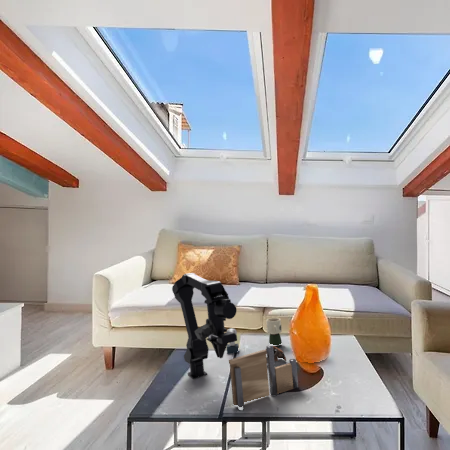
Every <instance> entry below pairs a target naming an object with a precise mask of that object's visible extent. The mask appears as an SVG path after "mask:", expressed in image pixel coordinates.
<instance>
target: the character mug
mask: <svg viewBox="0 0 450 450" xmlns="http://www.w3.org/2000/svg"><path fill="white" fill-rule="evenodd" d="M281 321H282V319H281V318H280V317H270V318H269V317H268V318H267V319H266V323H265V324H266V333H267V334H269V336H268V337H269V339H268V344H269V343H270V344H273V345H279V344H281V343H282V344H283V342H282V338H281V337H282V336H281V333H282V332H283V331H282V329H283V327H282V322H281Z"/></svg>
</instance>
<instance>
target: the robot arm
mask: <svg viewBox="0 0 450 450" xmlns="http://www.w3.org/2000/svg"><path fill="white" fill-rule="evenodd" d="M194 289H196V290H198V291H200V292H201V295H202V296H203V297H204V298H205V300H204V302H203V303H204V304H206V308H207V318H206V319H205V323H204V324H203V325H201V326H200V327H199V325H198V321H197V318H196V313H195V308H194V305H193V301H192V299H193V296H194V294H195V292H194ZM171 291H172V293H173V296H174V298H175V299H176V301H177V302H178V303H179V304H180V307H181V312H182V316H183V320H184V323H185V324H184V325H185V327H186V332H187V337H188V338H187V342H186V352H185V353H184V355H183V358H184V359H183V360H184V362H186V363H188V364H189V371H188V372H187V375H188V376H189V377H190V378H192V379H198V378H200V377H204V376H207V375H208V373H207V371H205V366H204V365H205V364H204V360H206V359H208V357H209V346H208V342H210V344H211V345H212V347H213V349H214V350H213V351H214V352H215V354H216V357H217V358H219V359H222V358H224V354H225V352H226V350H227V344H229V343H230V342H234V341H235V342H237V341H238V335H236V334H235V333H232V332H227V330H228V329H227V328H225V321H227V320H232V319H233V318H234V317H236V314H237V307H236V305H235V303H233V302H232V301H231V300H232V299H230V298H229V293H228V292H227V291H226V289H225V287H224V285H223V283H222V282H221V281H218V280H208V279H205V278H203V277H201V276H199V275H197V274H196V273H194V272H189V273H184V274H183V275H181V277H180V278H178V279H177V280H176V281H175V282H174V284H173V285H172V287H171Z"/></svg>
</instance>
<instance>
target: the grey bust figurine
mask: <svg viewBox="0 0 450 450" xmlns="http://www.w3.org/2000/svg"><path fill="white" fill-rule="evenodd" d="M227 332H232V333H235V334H236V335H237V334H238V331H237V330H236V328H228V329H227ZM237 336H238V335H237ZM238 348H239V349H240V346H239V343H236V341H234V342H230V343H228V344H227V346H226V354H227V355H229V354H230V355H231V354H238V353H237V351H238Z"/></svg>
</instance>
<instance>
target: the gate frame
mask: <svg viewBox="0 0 450 450" xmlns="http://www.w3.org/2000/svg"><path fill="white" fill-rule="evenodd" d="M266 349H267V354H266V357H267V361H268V364H267V372H268V384H269V395H270V394H271V395H276V396H277V395H279V393H280V394H282V393H284V392H285V393H286V392H287V391H291V390H294V389H295V390H296V389H299V381H298V368H297V359H295V358H290V359H289V361H288V363H285V364H281V365H277V366H276V365H275V364H276V363H275V362H274V351H273V346H269V345H266V348H265V350H266ZM234 373H235V384H236V396H237V405H238V406H239V407H242V406H244V407H245V405H244V401H243V390H242V378H241V368H240V367H239V366H237V367H234ZM271 395H270V396H271Z"/></svg>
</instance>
